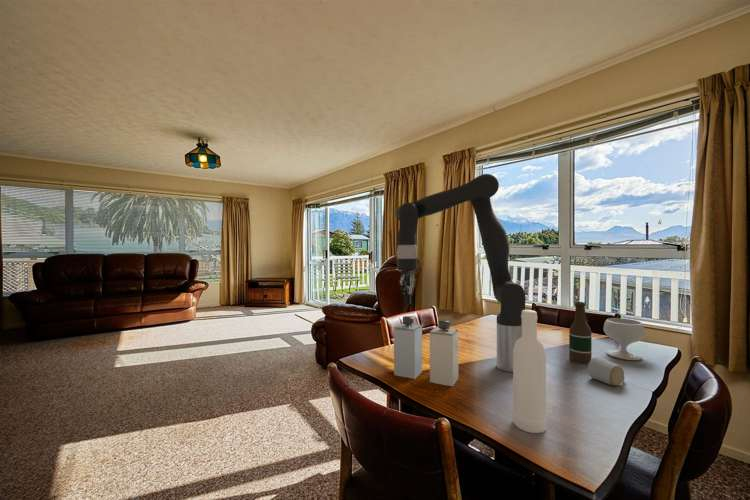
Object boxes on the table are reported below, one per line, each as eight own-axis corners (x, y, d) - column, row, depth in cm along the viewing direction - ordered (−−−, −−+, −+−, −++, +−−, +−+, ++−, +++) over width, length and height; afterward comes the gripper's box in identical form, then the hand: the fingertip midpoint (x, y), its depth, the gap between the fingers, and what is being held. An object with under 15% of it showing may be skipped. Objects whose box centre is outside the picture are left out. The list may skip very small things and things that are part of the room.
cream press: (458, 377, 114) (458, 329, 114) (452, 386, 107) (452, 334, 107) (436, 373, 118) (436, 326, 117) (429, 382, 111) (429, 331, 110)
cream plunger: (454, 361, 113) (454, 320, 113) (450, 367, 108) (450, 323, 108) (438, 358, 116) (438, 318, 116) (433, 364, 111) (433, 321, 111)
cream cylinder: (611, 389, 104) (612, 365, 104) (587, 379, 112) (587, 357, 112) (631, 384, 108) (632, 361, 108) (606, 375, 116) (607, 354, 116)
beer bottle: (571, 363, 128) (571, 303, 128) (567, 356, 135) (567, 300, 135) (594, 365, 125) (594, 304, 125) (589, 359, 132) (589, 301, 132)
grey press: (422, 371, 120) (422, 324, 120) (414, 379, 113) (414, 329, 113) (402, 367, 124) (402, 322, 124) (394, 375, 117) (393, 327, 117)
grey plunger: (418, 355, 120) (418, 316, 120) (413, 360, 114) (412, 319, 114) (403, 353, 122) (403, 314, 122) (397, 358, 117) (397, 318, 117)
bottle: (552, 427, 82) (552, 311, 82) (535, 437, 78) (535, 315, 78) (524, 414, 89) (524, 307, 89) (506, 422, 85) (506, 310, 85)
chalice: (599, 349, 144) (599, 316, 144) (637, 352, 139) (637, 318, 139) (609, 359, 131) (609, 323, 131) (651, 363, 126) (651, 326, 126)
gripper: (410, 258, 110) (410, 308, 111) (422, 256, 122) (423, 302, 122) (390, 257, 114) (391, 306, 114) (404, 256, 126) (405, 300, 126)
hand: (407, 304), depth 118 cm, fingers closed
